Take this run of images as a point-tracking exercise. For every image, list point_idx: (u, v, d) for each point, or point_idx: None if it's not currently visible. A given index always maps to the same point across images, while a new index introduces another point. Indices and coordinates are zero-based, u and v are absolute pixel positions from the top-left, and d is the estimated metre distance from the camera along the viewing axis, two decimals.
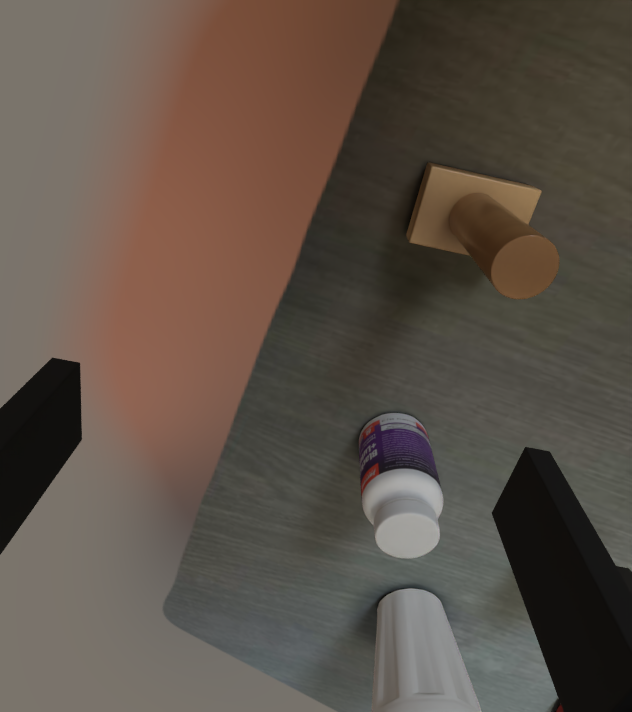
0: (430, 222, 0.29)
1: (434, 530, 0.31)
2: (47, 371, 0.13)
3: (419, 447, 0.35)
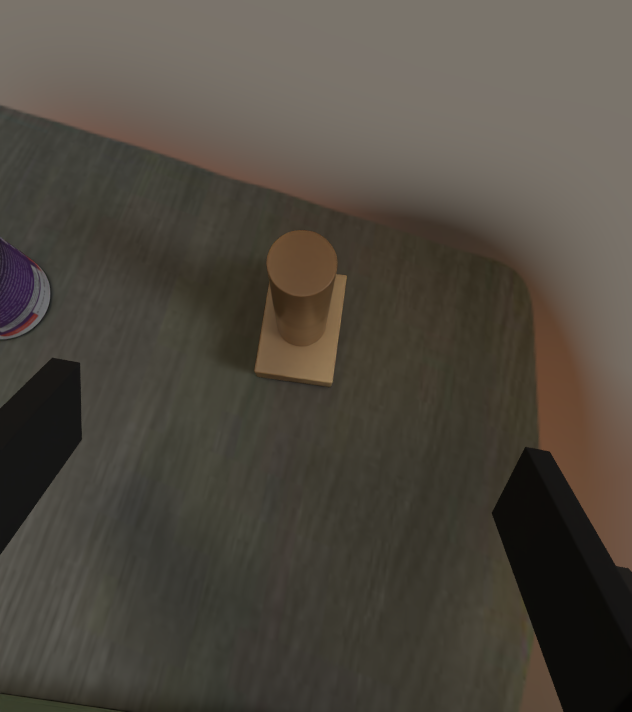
0: None
1: None
2: (47, 371, 0.13)
3: (9, 296, 0.27)
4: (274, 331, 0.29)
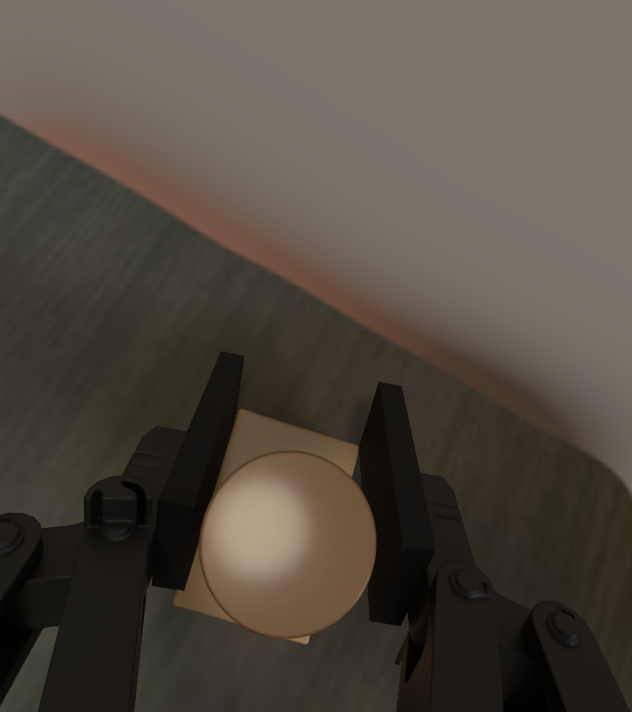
0: (271, 444, 0.17)
1: None
2: (223, 363, 0.16)
3: None
4: None
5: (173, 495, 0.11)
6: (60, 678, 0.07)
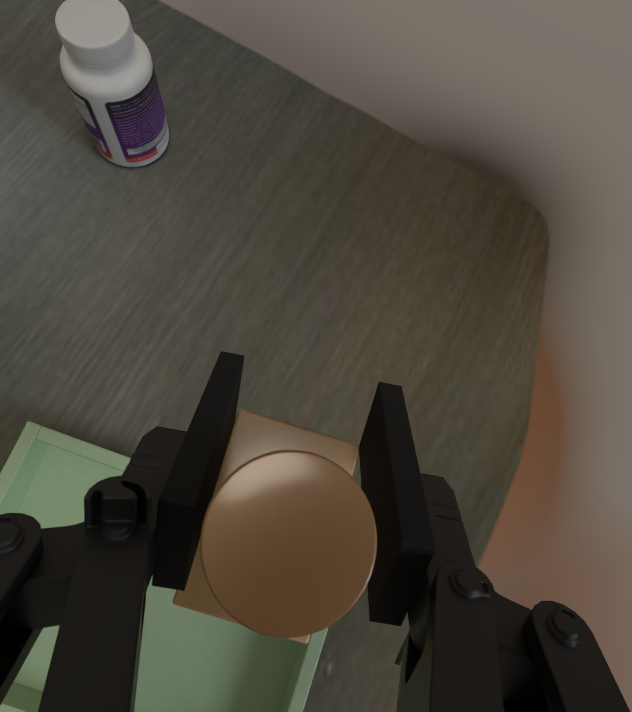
0: (271, 444, 0.17)
1: (97, 43, 0.28)
2: (223, 363, 0.16)
3: (150, 120, 0.34)
4: None
5: (173, 495, 0.11)
6: (60, 678, 0.07)
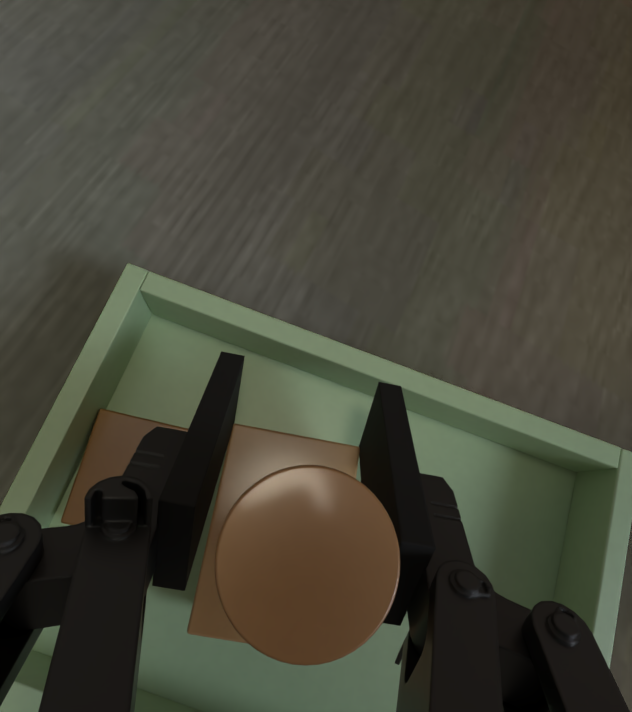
0: (270, 456, 0.17)
1: None
2: (223, 362, 0.15)
3: None
4: None
5: (174, 495, 0.11)
6: (60, 678, 0.07)
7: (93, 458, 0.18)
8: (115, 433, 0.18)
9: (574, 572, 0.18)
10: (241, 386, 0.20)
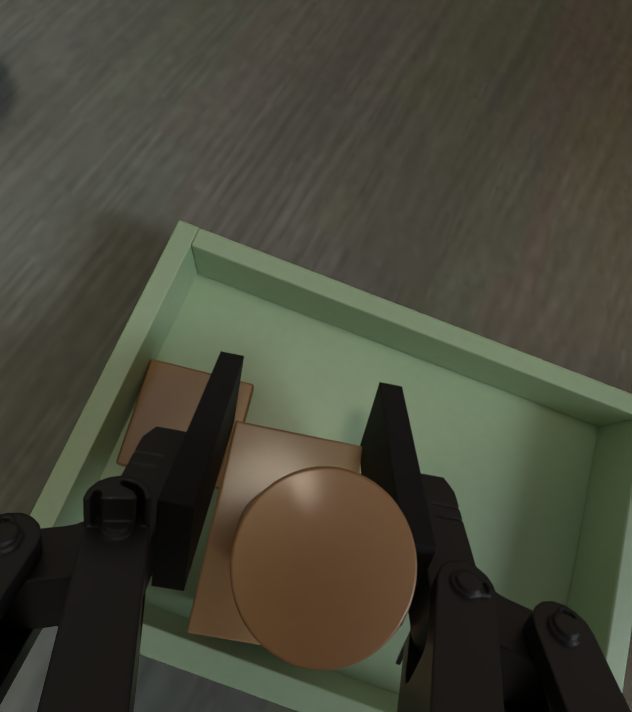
0: (272, 455, 0.17)
1: None
2: (223, 362, 0.15)
3: None
4: (231, 550, 0.16)
5: (173, 495, 0.11)
6: (59, 678, 0.07)
7: (146, 405, 0.19)
8: (166, 382, 0.19)
9: (599, 516, 0.19)
10: (282, 342, 0.21)
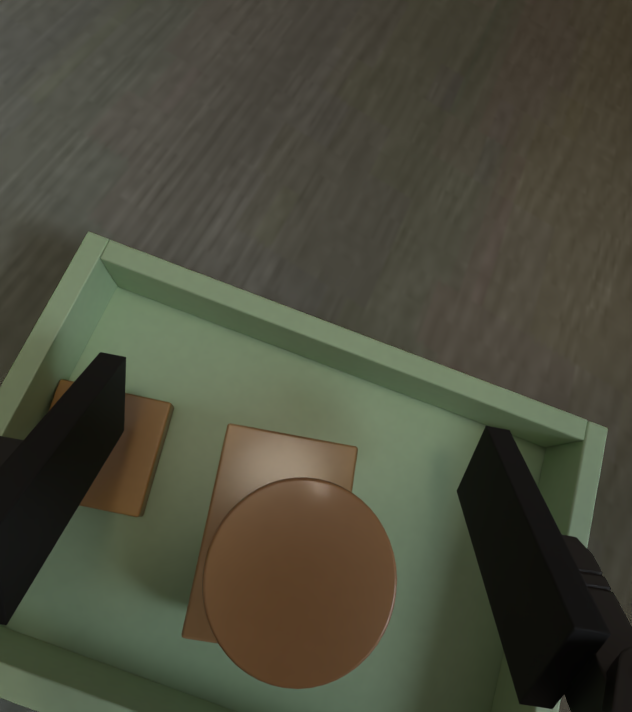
0: (265, 457, 0.16)
1: None
2: (98, 365, 0.14)
3: None
4: None
5: None
6: None
7: None
8: None
9: None
10: (206, 359, 0.20)
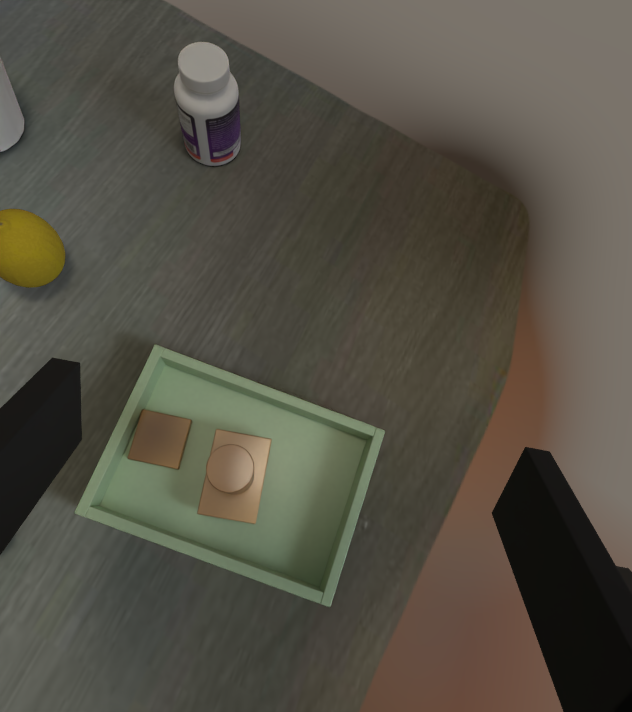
0: (232, 443, 0.39)
1: (207, 78, 0.40)
2: (48, 371, 0.13)
3: (232, 131, 0.45)
4: None
5: None
6: None
7: (140, 431, 0.40)
8: (149, 420, 0.40)
9: (355, 483, 0.41)
10: (207, 398, 0.42)
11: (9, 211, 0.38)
